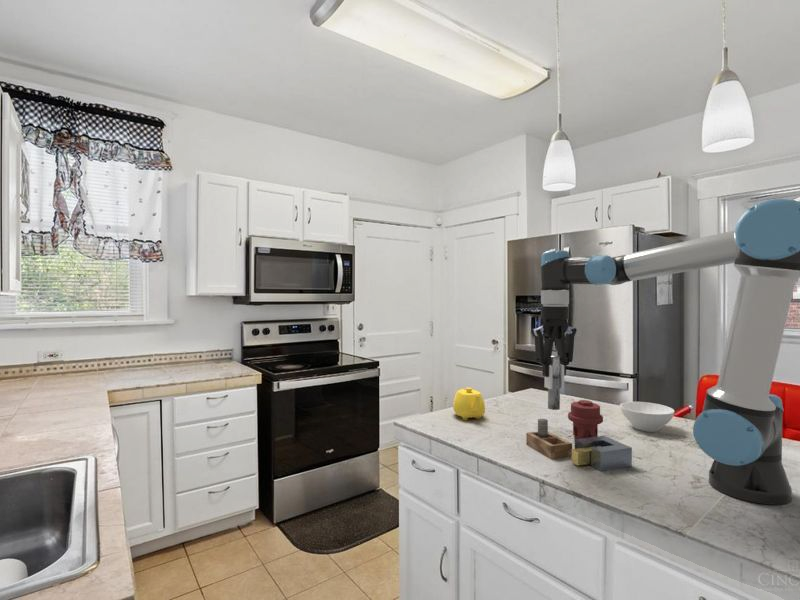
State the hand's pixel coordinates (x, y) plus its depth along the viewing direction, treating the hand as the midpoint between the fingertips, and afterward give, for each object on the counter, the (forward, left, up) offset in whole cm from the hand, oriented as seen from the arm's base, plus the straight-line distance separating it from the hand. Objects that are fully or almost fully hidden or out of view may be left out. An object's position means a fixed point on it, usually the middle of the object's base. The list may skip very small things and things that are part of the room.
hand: (554, 387), depth 126 cm
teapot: (+40, +7, -19) cm, 45 cm away
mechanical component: (+6, -15, -19) cm, 25 cm away
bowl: (+10, -44, -19) cm, 49 cm away
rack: (+3, 0, -19) cm, 19 cm away
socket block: (-9, -9, -19) cm, 23 cm away
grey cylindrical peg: (0, 0, -6) cm, 6 cm away
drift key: (-9, -3, -18) cm, 21 cm away
